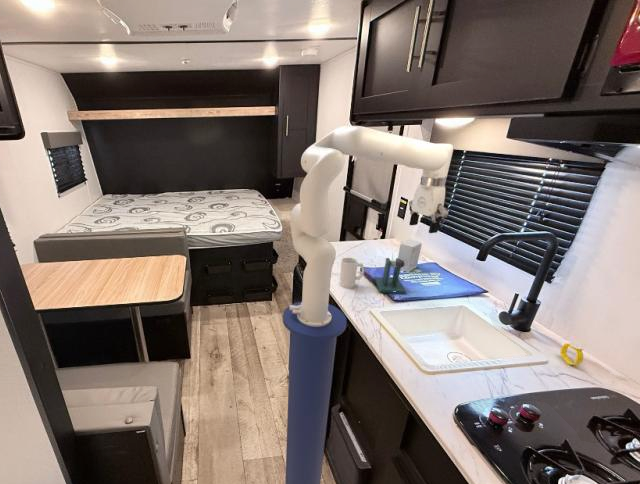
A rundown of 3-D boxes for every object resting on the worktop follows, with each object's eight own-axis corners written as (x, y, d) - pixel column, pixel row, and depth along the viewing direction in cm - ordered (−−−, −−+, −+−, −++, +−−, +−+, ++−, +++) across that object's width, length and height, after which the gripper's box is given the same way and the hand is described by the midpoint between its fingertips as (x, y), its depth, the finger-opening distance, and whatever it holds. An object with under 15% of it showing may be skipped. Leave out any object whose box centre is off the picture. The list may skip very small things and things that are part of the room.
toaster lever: (405, 268, 121) (405, 259, 121) (396, 267, 122) (397, 259, 122) (395, 267, 133) (396, 260, 133) (387, 267, 134) (388, 260, 134)
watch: (555, 354, 95) (562, 338, 93) (565, 355, 95) (573, 339, 92) (569, 368, 90) (578, 351, 87) (581, 369, 89) (590, 352, 87)
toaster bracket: (405, 294, 130) (410, 266, 125) (379, 292, 132) (384, 265, 127) (397, 280, 141) (402, 254, 136) (374, 279, 143) (378, 254, 137)
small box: (404, 263, 157) (409, 239, 151) (416, 267, 152) (422, 242, 147) (395, 268, 153) (400, 243, 147) (408, 272, 148) (413, 247, 142)
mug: (340, 288, 137) (342, 263, 132) (337, 281, 143) (340, 257, 138) (363, 288, 136) (367, 263, 131) (360, 281, 142) (364, 257, 137)
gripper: (406, 178, 115) (398, 223, 123) (443, 187, 100) (432, 237, 107) (423, 177, 117) (414, 221, 124) (463, 185, 101) (450, 234, 109)
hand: (422, 228), depth 116 cm, fingers open, 9 cm apart
